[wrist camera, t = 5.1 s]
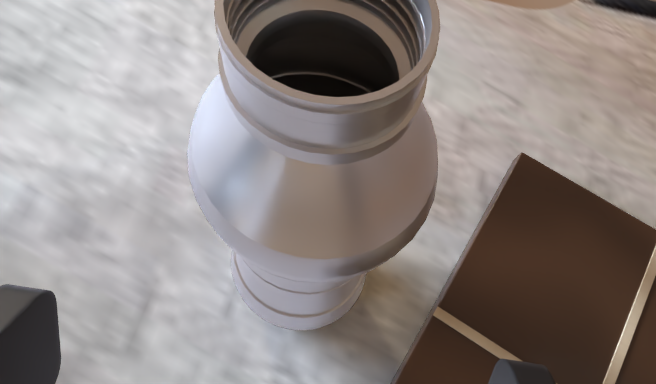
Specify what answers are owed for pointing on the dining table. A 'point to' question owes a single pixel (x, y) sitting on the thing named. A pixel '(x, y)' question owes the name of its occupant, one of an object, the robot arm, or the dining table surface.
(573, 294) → the board
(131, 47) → the dining table surface
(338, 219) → the plastic bottle
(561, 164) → the dining table surface
